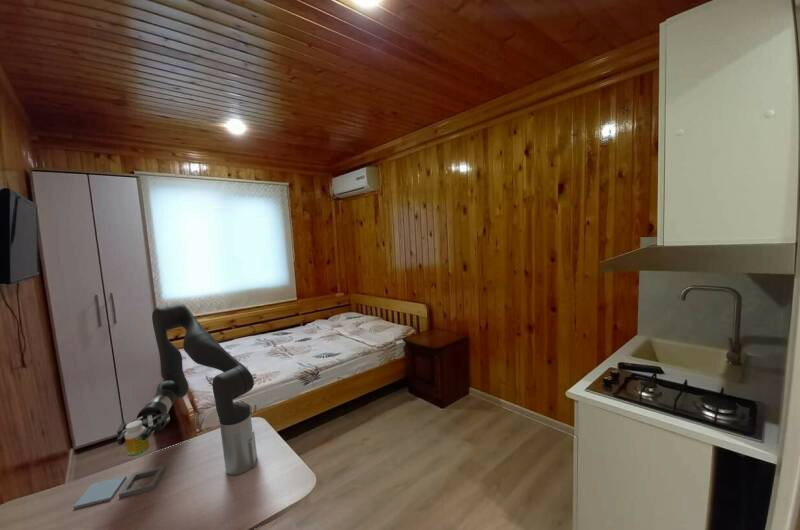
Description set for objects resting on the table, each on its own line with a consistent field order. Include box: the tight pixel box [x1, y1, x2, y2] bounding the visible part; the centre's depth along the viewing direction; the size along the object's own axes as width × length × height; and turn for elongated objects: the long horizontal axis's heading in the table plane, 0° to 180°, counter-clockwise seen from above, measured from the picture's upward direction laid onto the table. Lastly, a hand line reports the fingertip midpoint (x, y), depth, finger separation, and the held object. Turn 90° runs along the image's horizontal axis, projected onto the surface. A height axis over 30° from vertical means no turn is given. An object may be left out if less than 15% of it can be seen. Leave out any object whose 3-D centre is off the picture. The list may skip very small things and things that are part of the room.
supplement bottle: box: [124, 420, 150, 459], centre depth 101 cm, size 5×5×10 cm
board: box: [73, 475, 127, 510], centre depth 100 cm, size 9×9×1 cm
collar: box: [118, 465, 166, 498], centre depth 103 cm, size 9×9×1 cm
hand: (132, 439), depth 99 cm, fingers closed on supplement bottle, 5 cm apart
